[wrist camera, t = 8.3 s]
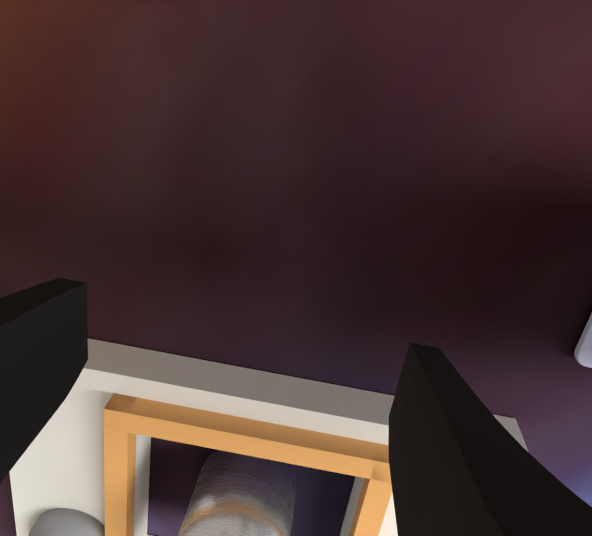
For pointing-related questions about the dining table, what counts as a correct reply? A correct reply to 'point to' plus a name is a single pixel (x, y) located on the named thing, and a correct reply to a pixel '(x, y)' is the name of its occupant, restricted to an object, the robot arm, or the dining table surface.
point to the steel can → (241, 497)
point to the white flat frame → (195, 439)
